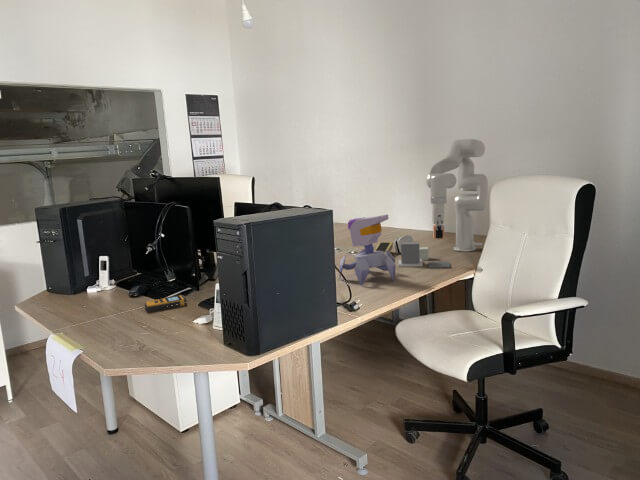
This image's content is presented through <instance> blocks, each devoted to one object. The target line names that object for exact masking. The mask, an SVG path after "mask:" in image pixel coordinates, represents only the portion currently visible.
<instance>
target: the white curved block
mask: <svg viewBox="0 0 640 480" xmlns="http://www.w3.org/2000/svg"><path fill="white" fill-rule="evenodd" d="M401 242H415V241H414V239H413V237H412V236H411V235H402V236H400V237H397V238H396V239H395V240H394V241H393V247H394V250H395V253H396V254H401Z"/></svg>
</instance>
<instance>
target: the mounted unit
mask: <svg viewBox="0 0 640 480" xmlns="http://www.w3.org/2000/svg"><path fill="white" fill-rule="evenodd" d="M419 247H420V242H419V241H414V242H401V253H400V254H401V256H400V257H401V258H400V259H398V261H397V262H398V267H399V268H401V267H402V268H403V267H404V268H405V267H406V268H408V267H413V268H415V267H424V265H423V264H424V263H423V260H420V256H419Z"/></svg>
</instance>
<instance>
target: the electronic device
mask: <svg viewBox="0 0 640 480" xmlns="http://www.w3.org/2000/svg"><path fill="white" fill-rule="evenodd" d="M185 302H187V303H185ZM181 303H183V304H181ZM176 304H178V305H176ZM171 305H173V306H171ZM187 305H188V301H187V298H186V297H185V296H184V294H183V295H182V294H181V295H175V296H169V297H164V298H159V299H153V300H147V301H145V302H144V308H145V310H146V311H147V313H152V312H158V311H163V310H168V309H174V308H178V307H182V306H184V307H185V306H187ZM167 306H168V307H167Z"/></svg>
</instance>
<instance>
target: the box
mask: <svg viewBox="0 0 640 480" xmlns="http://www.w3.org/2000/svg"><path fill="white" fill-rule="evenodd" d="M393 247H394V241H379V242H378V243H377V245H376V247H375V249H374V251H383V252H384V255H385V252H386V250H387V251H388V252H389V253H391V251H392V249H393ZM385 259H386V255H385Z"/></svg>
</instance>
